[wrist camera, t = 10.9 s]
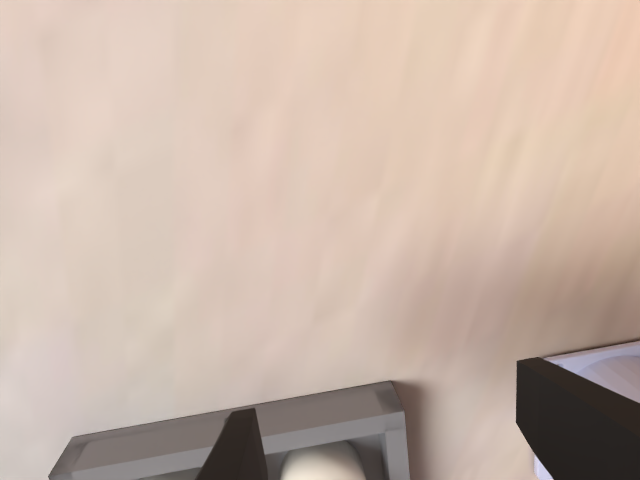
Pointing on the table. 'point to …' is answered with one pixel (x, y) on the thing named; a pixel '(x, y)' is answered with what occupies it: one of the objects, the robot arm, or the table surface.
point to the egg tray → (275, 428)
